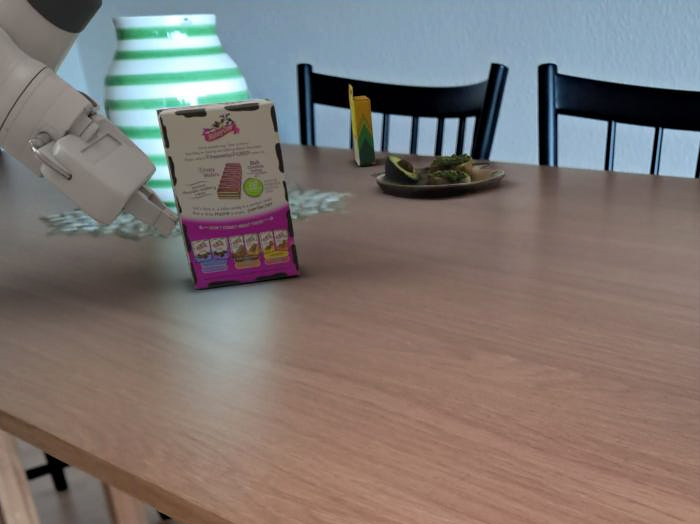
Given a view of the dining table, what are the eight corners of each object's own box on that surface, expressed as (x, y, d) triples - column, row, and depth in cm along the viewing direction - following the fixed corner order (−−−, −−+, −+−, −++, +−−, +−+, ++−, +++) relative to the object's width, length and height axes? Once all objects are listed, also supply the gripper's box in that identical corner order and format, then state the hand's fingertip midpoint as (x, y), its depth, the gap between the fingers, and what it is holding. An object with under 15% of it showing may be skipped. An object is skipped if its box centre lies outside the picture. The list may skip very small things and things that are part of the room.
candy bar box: (292, 266, 110) (268, 97, 101) (301, 276, 106) (276, 101, 97) (188, 279, 107) (154, 106, 98) (193, 290, 103) (158, 111, 94)
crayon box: (376, 165, 168) (369, 85, 161) (358, 166, 167) (350, 87, 161) (372, 159, 174) (364, 82, 167) (354, 160, 173) (347, 83, 167)
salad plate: (453, 171, 159) (451, 138, 157) (535, 180, 148) (534, 146, 146) (356, 190, 148) (352, 156, 146) (437, 202, 137) (434, 165, 135)
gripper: (41, 113, 88) (178, 223, 94) (89, 92, 105) (203, 186, 111) (4, 172, 90) (140, 276, 96) (58, 142, 107) (170, 232, 113)
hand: (174, 228), depth 104 cm, fingers closed
